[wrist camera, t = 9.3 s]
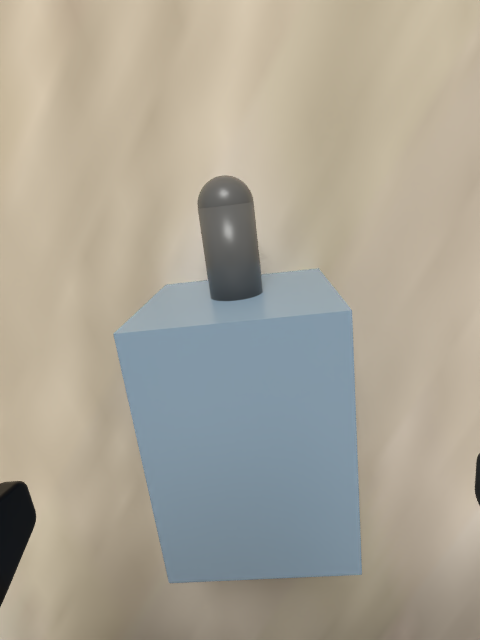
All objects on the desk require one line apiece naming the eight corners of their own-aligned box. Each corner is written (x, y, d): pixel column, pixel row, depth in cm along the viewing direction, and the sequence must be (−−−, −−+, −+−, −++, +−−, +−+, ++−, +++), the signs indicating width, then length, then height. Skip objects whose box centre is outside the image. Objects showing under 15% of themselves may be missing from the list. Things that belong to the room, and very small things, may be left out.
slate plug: (331, 492, 15) (363, 626, 11) (204, 500, 16) (180, 632, 11) (311, 169, 12) (346, 151, 7) (149, 189, 12) (80, 186, 8)
